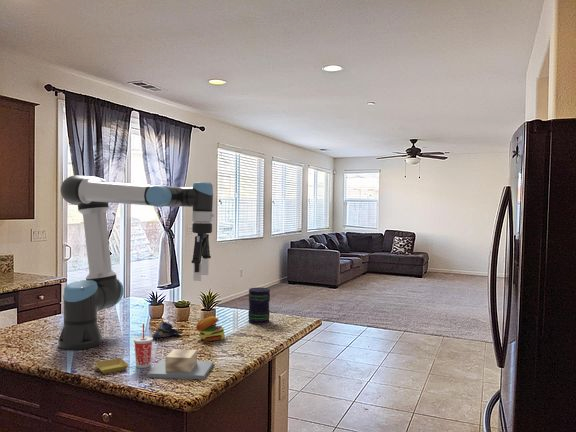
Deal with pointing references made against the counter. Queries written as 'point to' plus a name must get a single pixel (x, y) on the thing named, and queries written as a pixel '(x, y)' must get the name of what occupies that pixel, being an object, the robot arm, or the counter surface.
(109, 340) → the counter surface
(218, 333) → the cheeseburger
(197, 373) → the board
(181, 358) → the block
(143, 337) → the beverage cup
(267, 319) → the storage jar
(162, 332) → the dark grey crumpled piece
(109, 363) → the yellow square slab
